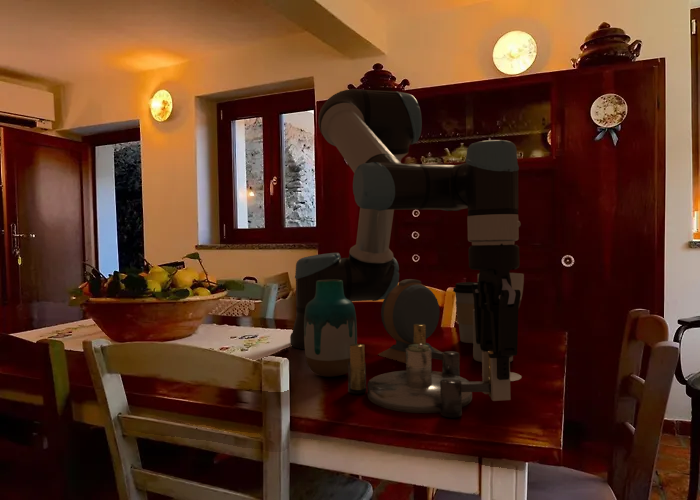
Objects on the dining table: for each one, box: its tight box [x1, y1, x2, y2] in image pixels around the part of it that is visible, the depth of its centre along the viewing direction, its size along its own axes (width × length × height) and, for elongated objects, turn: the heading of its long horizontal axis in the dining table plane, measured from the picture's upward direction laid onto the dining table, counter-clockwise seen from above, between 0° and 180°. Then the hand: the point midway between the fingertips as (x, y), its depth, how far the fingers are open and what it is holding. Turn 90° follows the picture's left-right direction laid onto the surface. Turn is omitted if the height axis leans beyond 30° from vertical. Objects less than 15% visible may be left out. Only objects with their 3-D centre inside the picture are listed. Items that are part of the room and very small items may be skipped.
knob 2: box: [440, 349, 493, 419], centre depth 78 cm, size 10×3×10 cm, turn 88°
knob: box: [347, 343, 367, 395], centre depth 88 cm, size 10×3×10 cm, turn 1°
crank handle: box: [413, 324, 461, 377], centre depth 99 cm, size 10×3×10 cm, turn 49°
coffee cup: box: [452, 281, 478, 344], centre depth 133 cm, size 9×9×15 cm
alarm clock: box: [377, 278, 442, 364], centre depth 119 cm, size 14×10×18 cm
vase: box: [304, 279, 358, 378], centre depth 103 cm, size 11×11×19 cm
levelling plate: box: [366, 344, 473, 414], centre depth 89 cm, size 18×18×9 cm
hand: (496, 395), depth 79 cm, fingers open, 3 cm apart
